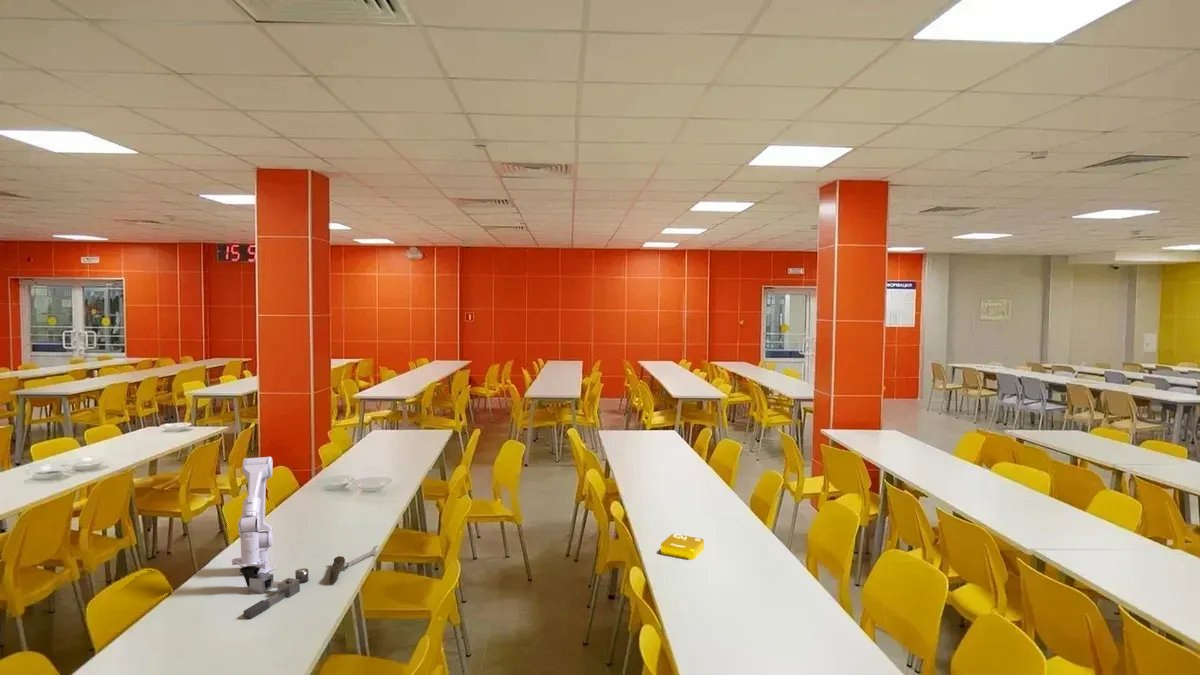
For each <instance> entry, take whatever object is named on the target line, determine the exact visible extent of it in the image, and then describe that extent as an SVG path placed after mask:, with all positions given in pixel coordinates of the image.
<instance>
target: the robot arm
mask: <svg viewBox="0 0 1200 675" xmlns="http://www.w3.org/2000/svg"><path fill="white" fill-rule="evenodd" d="M273 465H274V462H273V457H272V456H264V457H263V456H262V457H249V458H248V457H244V459H242V466H241V467H242V473H243V475H244V477H245V479H246V480H247V496H246V497H245V498H244V499H243V501H242V508H241V509H242V510H241V516H240V518H239V519H238V524H237V528H238V533H239V535H238V536H239V539H240V554H241V556H240V557H235V558H233V559H232V560H231V565H232V566H239V567H240V568H239V575H242V576H243V578H244V580H245V583H246V586H247V587H249V588H250V583H249V578H251V577H252V576H254V575H256V574H258V573H260V572H262V573H269V572H271V571H273V570H274V569H276V567H275V566H270V548H271V547H272V546H273V544H274V532H273V529H274V528H273V527H272V525H270V524H268V523H267V522H266V499H267V498H266V495H267V494H266V493H267V491H266V490H267V481H268V479H270V478H273V468H274V467H273Z"/></svg>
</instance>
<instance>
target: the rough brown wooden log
mask: <svg viewBox="0 0 1200 675" xmlns="http://www.w3.org/2000/svg"><path fill="white" fill-rule="evenodd" d="M344 563H346V559H345V557H344V556H341V555H340V556H339V555H338V556H336V557H334V558H333V563H332V567H331V569H330V574H329V580H330V584H331V585H335V583H336V582H338V581H337V580H338V579H339V576H340V573H341V570H342V566H343V564H344Z"/></svg>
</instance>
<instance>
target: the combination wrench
mask: <svg viewBox="0 0 1200 675" xmlns="http://www.w3.org/2000/svg"><path fill="white" fill-rule="evenodd" d="M378 547H379V545H374V546H373V548H372V549H371V550H370V551H368V552H366V553H365V554H363V555H361V556H359V557H356V558H354V559H352V560H350V561H348V562H345V563H344V564H343V566H342V568H341V570H343V571H347V570H348V569H349V568H350V567H351V566H352V565H354V564H357V563H358V562H360V561H362V560H364V559H367V558H368V557H370V556H377V555H379V553H380V550H381V549H378V550H377V548H378ZM345 566H346V567H345Z"/></svg>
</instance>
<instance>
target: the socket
mask: <svg viewBox="0 0 1200 675" xmlns="http://www.w3.org/2000/svg"><path fill="white" fill-rule="evenodd" d="M294 579H300V584H303V585H304V584H305V583H308V582H309V569H308V568H299V569H296V570H295V577H294Z"/></svg>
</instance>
